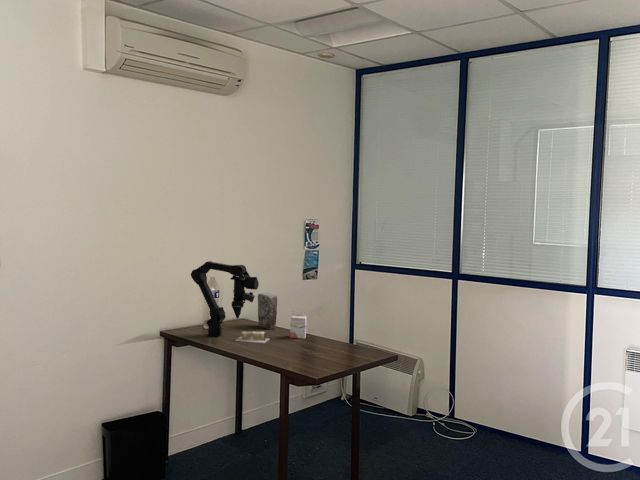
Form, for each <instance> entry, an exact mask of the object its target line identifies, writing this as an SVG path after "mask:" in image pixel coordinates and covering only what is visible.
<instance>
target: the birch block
mask: <svg viewBox="0 0 640 480" xmlns="http://www.w3.org/2000/svg"><path fill="white" fill-rule="evenodd" d="M240 337H241V340H266V338H267V332H266V331H241V336H240Z"/></svg>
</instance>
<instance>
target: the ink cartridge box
mask: <svg viewBox="0 0 640 480" xmlns="http://www.w3.org/2000/svg"><path fill="white" fill-rule="evenodd" d="M291 313H292V315H291V316H290V328H289V329H290V330H289V338H290V339H292V338H293V339H304V340H305V339H306V337H307V311H306V310H294V309H293V310H292V312H291Z"/></svg>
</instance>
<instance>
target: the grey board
mask: <svg viewBox="0 0 640 480" xmlns="http://www.w3.org/2000/svg"><path fill="white" fill-rule="evenodd" d="M270 340H271V339H270V337H269V338H267V337H266V340H241V336H239V337H237V338H236V339H235V342H244V343H246V342H247V343H252V344H253V343H255V344H265V343H267V342H268V341H270Z"/></svg>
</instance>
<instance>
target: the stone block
mask: <svg viewBox="0 0 640 480" xmlns="http://www.w3.org/2000/svg"><path fill="white" fill-rule="evenodd" d="M277 311H278V296H277V295H276V294H272V293H269V292H263V293H262V292H261V293H258V294H257V318H258V319H257V320H258V325H257V326H258V327H260V328H263V329H267V330H275V328H276V325H277V314H278V312H277Z"/></svg>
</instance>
